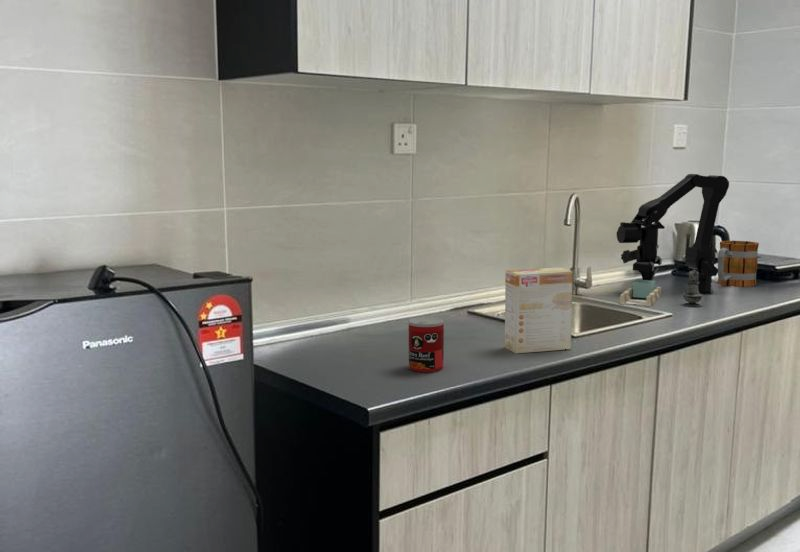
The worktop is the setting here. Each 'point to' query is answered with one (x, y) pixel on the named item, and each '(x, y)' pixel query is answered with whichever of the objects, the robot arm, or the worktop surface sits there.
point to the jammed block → (643, 288)
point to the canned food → (426, 344)
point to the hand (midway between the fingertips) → (646, 288)
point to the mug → (737, 263)
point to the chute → (650, 299)
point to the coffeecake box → (538, 310)
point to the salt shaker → (692, 290)
